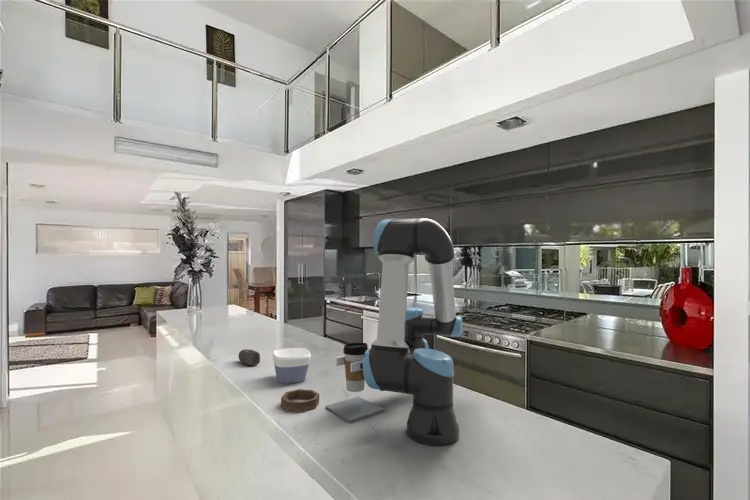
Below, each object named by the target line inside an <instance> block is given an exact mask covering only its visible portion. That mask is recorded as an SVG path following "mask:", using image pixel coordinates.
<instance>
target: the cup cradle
mask: <svg viewBox="0 0 750 500" xmlns="http://www.w3.org/2000/svg"><path fill="white" fill-rule="evenodd" d="M299 399H300V401H298V400H299ZM301 400H304V401H301ZM319 404H320V393H318V391H315V390H313V389H305V388H302V389H301V388H299V389H294V390H289V391H286V392H284V394H283V395H282V396H281V398H280V407H281V408H282V409H284V410H285V411H287V412H296V413H304V412H308V411H310V410H314V409H317V407H318V405H319Z"/></svg>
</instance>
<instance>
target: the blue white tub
mask: <svg viewBox="0 0 750 500" xmlns="http://www.w3.org/2000/svg"><path fill="white" fill-rule="evenodd" d="M311 357H312V354H311V352H310V351H309V350H308V349H307V348H305V347H294V348H293V347H291V348H289V347H288V348H279V349H275V350H274V351H273V352H272V360H273V365H274V371H275V375H276V380H277V381H278V382H279V383H280V384H281V385H282V384H283V385H287V384H297V383H302V382H305V381H306V378H307V375H308V374H307V373H308V370H309V365H310V362H311Z"/></svg>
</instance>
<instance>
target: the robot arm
mask: <svg viewBox="0 0 750 500" xmlns="http://www.w3.org/2000/svg"><path fill="white" fill-rule="evenodd" d="M373 251H374V252H375V253H376V254H378V259H379V260H380V261H381V263H382V271H381V283H380V295H379V308H378V319H377V320H378V322H377V332H376V338H375V339H374V341H372V342H371V346H370V348H368V350H367V351H366V352H365V354H364V358H363V361H358V362H354V363H351V372H355V371H359V370H363V374H364V379H365V383H366V385H367V386H368V387H369V388H370V389H373V390H379V391H380V392H384V391H386V392H392V393H398V394H406V395H411V396H412V400H413V401H412V406H411V409H410V412H409V415H408V419H407V421H406V434H407V435H408V437H410V439H412V440H413V441H415V442H417V443H420V444H424V445H430V446H447V445H451V444H454V443H455V442H457V441H458V439H459V438H460V426H459V424H458V421H457V416H456V413H455V410H454V409H455V408H454V376H455V371H454V370H455V369H454V361H453V359H452V357H451V356H450V355H449V354H447V353H445V352H443V351H440V350H437V349H432V348H430V345H429V344H428V341H427V340H426V339H425V338H424V335H429V336H431V335H432V336H440V337H441V336H442V337H449V338H451V337H453V338H455V337H456V338H457V337H458V338H459V337H461V336H462V334H463V318H462V317H461V316H458V315H456V301H455V289H454V275H453V272H454V271H453V263H452V262H453V260H454V258H455V248H454V244H453V241H452V239H451V237H450V235H449V234H448V232H447V231H446V229H444V227H443V226H442V225H440V223H438V222H437V221H435V220H433V219H430V218H426V217H420V218H395V217H393V218H389V219H388V218H386V219H382V220H381V221H380V222H379V223H378V224H377V225H376V228H375V231H374V234H373ZM415 255H424V259H425V261H426V262H427V263H428V268H429V276H430V284H431V285H430V286H431V292H432V302H433V308H434V314H428V313H427V314H426V313H424V309H422V308H420V307H419V308H418V307H408V308H407V302H408V289H409V287H408V286H409V273H410V265H411V264H412V263H413V262H414V261H415ZM344 358H345V355H341V356H336V357H335V366H336V367H340V366H345V361H344Z"/></svg>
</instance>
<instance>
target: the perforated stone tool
mask: <svg viewBox="0 0 750 500" xmlns="http://www.w3.org/2000/svg"><path fill="white" fill-rule="evenodd" d="M238 360H239V361H240V363H243V365H246V366H251V367H253V366H258V365H259V364H260V362H261V354H260V353H259V352H258V351H256V350H253V349H247V348H246V349H242V350H240V351H239V352H238Z"/></svg>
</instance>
